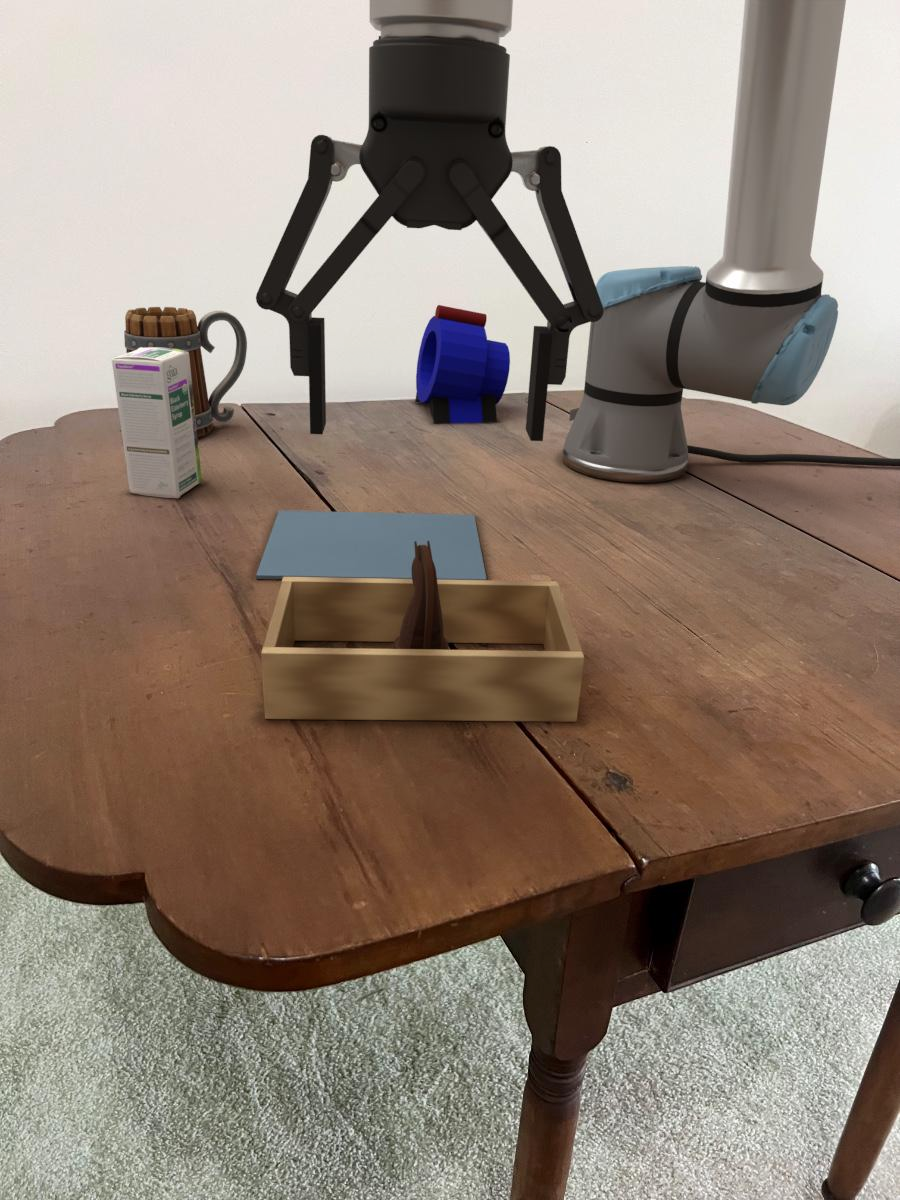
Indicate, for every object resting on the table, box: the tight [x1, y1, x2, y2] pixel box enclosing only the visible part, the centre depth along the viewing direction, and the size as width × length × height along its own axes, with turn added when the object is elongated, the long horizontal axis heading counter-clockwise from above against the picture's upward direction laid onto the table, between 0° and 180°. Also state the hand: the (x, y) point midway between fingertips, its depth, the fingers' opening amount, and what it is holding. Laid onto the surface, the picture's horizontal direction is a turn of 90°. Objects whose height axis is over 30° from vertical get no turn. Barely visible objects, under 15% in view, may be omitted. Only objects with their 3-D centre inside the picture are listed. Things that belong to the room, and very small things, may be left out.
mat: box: [255, 509, 488, 581], centre depth 87 cm, size 20×16×1 cm
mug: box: [123, 306, 248, 439], centre depth 116 cm, size 16×11×15 cm
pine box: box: [260, 577, 585, 723], centre depth 65 cm, size 21×12×5 cm, turn 93°
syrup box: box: [111, 347, 203, 499], centre depth 96 cm, size 6×6×14 cm
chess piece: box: [393, 541, 449, 650], centre depth 64 cm, size 5×5×10 cm
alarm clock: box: [415, 304, 511, 425], centre depth 131 cm, size 12×12×15 cm
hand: (426, 432), depth 58 cm, fingers open, 13 cm apart
